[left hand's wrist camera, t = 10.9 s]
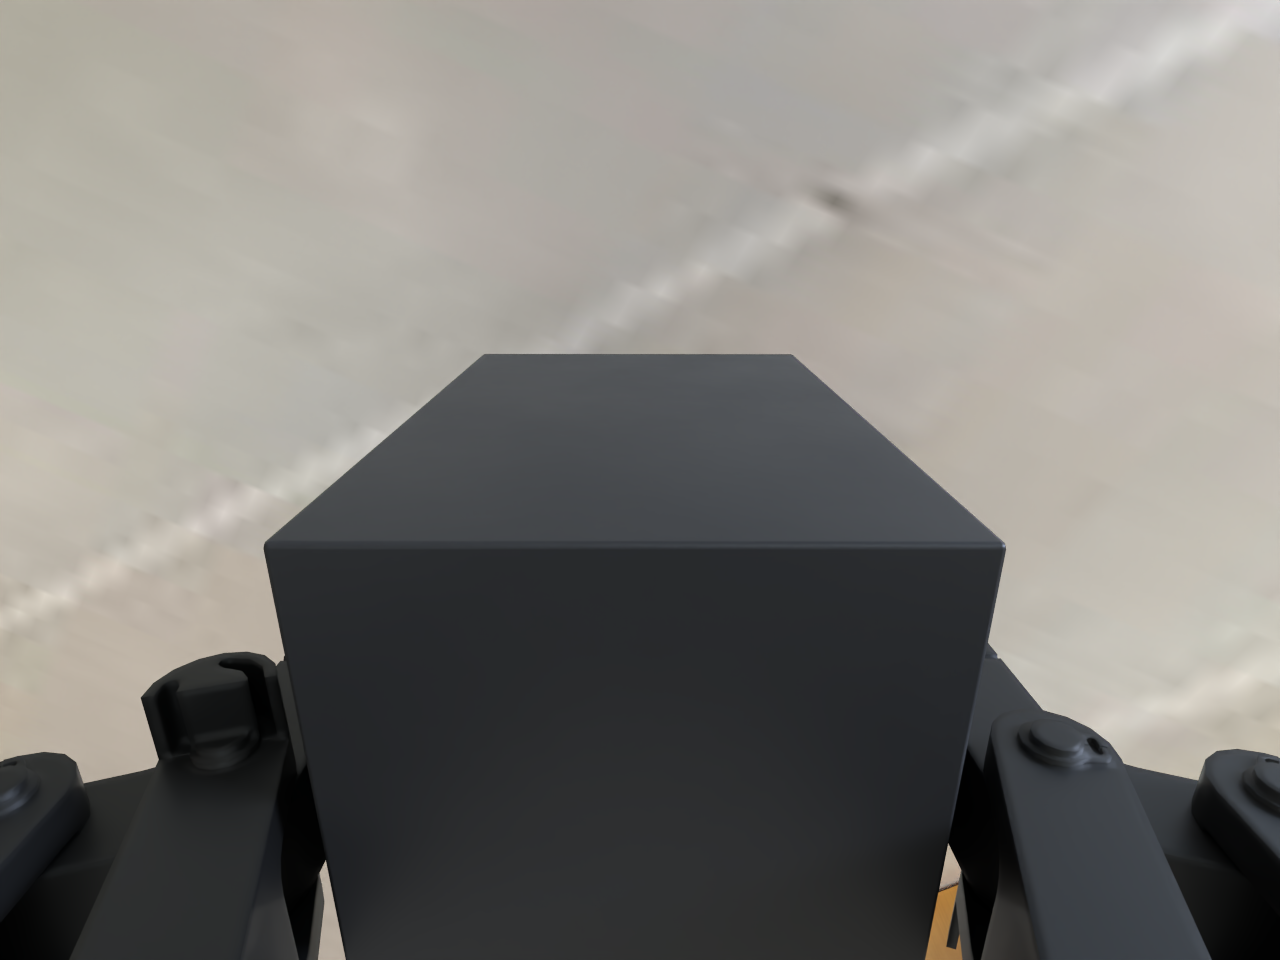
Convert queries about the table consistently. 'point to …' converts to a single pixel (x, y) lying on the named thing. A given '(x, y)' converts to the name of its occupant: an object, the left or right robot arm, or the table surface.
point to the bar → (635, 668)
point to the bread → (943, 928)
